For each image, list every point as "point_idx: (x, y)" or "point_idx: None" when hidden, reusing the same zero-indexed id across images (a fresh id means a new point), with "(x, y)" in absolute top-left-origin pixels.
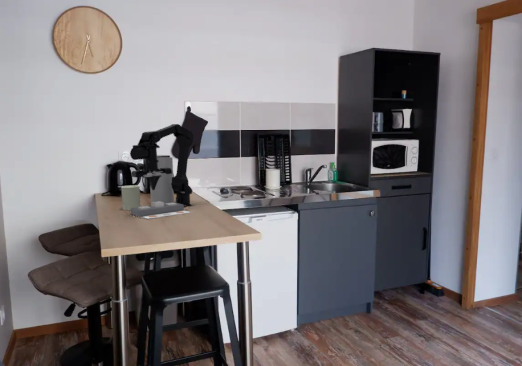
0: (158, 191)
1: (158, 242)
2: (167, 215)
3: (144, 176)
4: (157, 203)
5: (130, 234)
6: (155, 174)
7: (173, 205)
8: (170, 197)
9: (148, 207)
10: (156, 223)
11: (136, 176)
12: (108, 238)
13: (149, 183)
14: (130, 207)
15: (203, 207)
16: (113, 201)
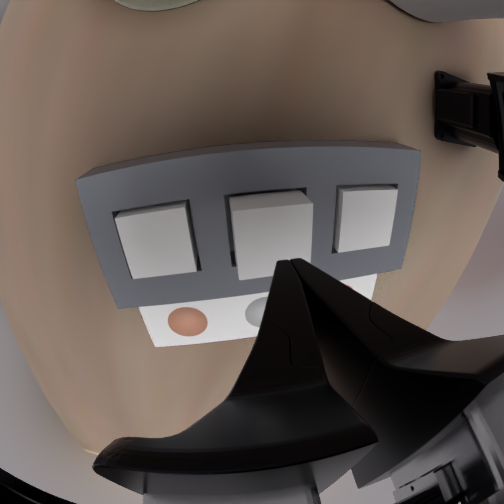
0: None
1: None
2: (254, 335)
3: (146, 496)
4: (257, 276)
5: (106, 430)
6: (398, 492)
7: (356, 262)
8: (457, 19)
9: (182, 272)
10: (174, 399)
11: (38, 500)
12: (70, 426)
13: (260, 330)
14: (132, 2)
15: (463, 230)
16: None
